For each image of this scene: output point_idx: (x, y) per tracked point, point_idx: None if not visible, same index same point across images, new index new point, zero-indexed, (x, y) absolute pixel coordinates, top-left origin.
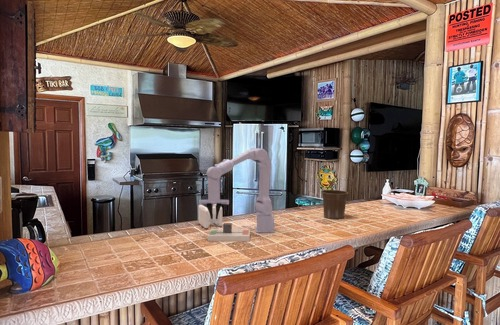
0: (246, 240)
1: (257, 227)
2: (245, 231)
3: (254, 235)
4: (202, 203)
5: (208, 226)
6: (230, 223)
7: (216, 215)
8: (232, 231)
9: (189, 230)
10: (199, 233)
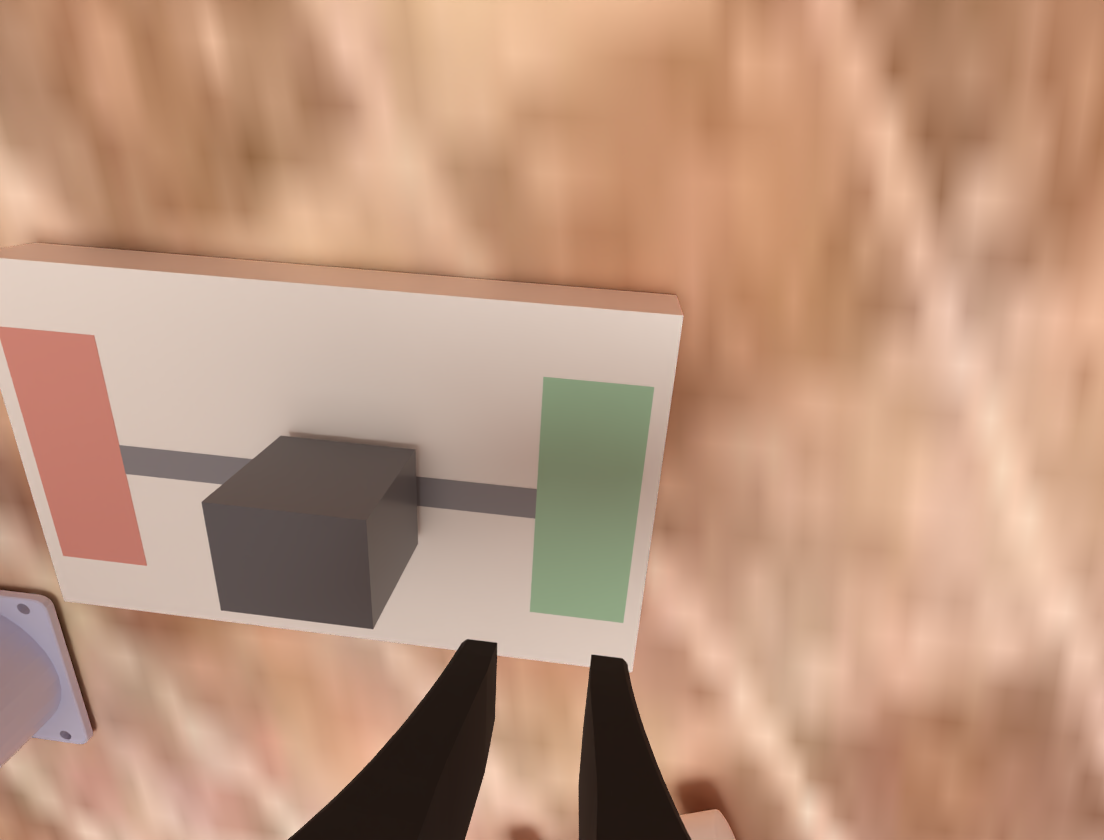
0: (69, 247)
1: (5, 674)
2: (94, 500)
3: None
4: None
5: None
6: (241, 597)
7: (453, 700)
8: None
9: (937, 787)
10: (800, 657)
